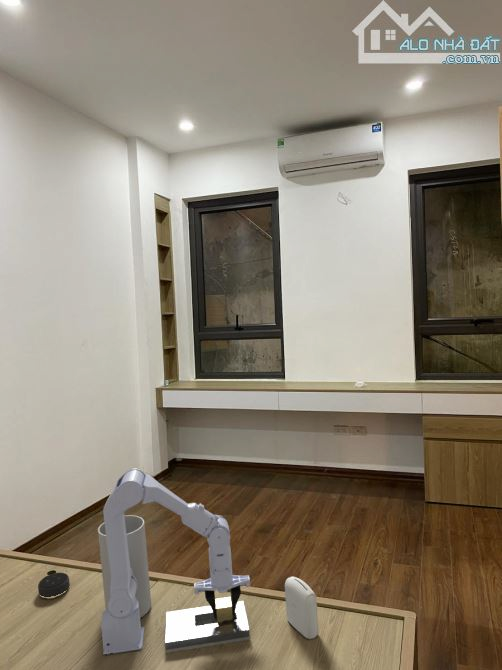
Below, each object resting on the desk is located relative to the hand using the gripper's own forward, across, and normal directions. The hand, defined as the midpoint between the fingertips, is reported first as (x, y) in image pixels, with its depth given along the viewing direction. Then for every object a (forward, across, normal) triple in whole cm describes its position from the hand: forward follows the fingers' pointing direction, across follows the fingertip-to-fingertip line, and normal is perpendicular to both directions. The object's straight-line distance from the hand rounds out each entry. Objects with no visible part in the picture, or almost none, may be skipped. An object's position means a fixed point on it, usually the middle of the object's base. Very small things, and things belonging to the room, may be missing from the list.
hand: (224, 614), depth 129 cm
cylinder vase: (+4, -26, +14) cm, 30 cm away
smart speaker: (+4, -50, +28) cm, 58 cm away
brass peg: (+3, 0, 0) cm, 3 cm away
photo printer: (+4, +20, -4) cm, 21 cm away
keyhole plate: (+3, -5, 0) cm, 6 cm away
